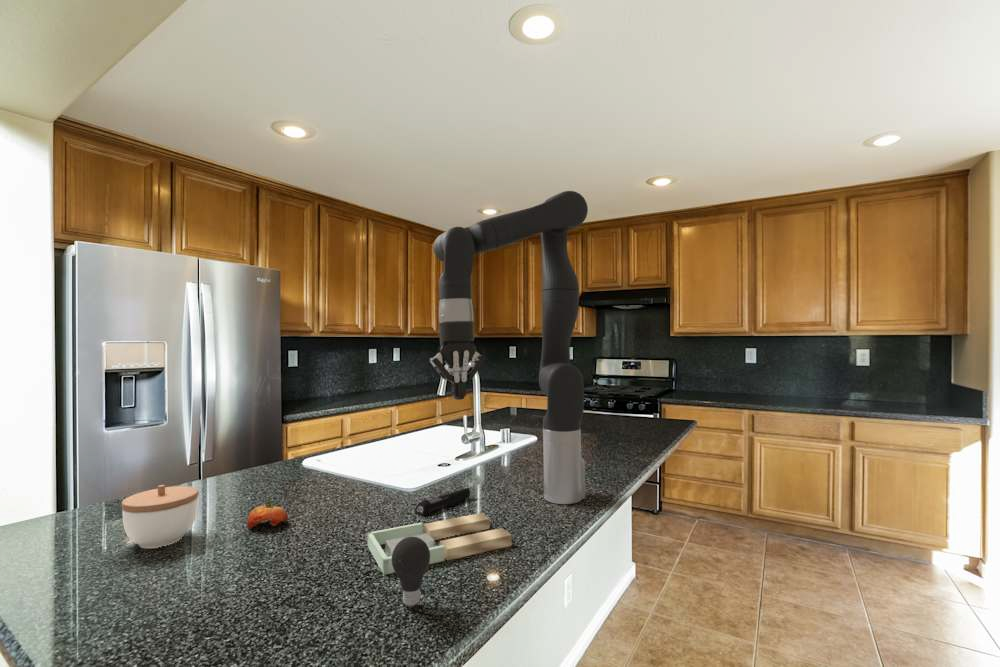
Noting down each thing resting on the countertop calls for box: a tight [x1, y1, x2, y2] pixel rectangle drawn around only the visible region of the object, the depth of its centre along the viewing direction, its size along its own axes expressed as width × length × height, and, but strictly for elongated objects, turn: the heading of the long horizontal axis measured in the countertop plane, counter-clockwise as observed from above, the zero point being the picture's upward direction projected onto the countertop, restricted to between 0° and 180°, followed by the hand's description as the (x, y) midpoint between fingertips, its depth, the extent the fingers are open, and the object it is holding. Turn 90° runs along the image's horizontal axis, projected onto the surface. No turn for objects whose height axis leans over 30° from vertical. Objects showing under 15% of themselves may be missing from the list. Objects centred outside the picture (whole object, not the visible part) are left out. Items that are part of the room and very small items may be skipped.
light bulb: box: [392, 537, 430, 608], centre depth 72 cm, size 6×6×10 cm
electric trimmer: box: [414, 487, 471, 517], centre depth 115 cm, size 4×16×3 cm, turn 137°
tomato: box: [246, 500, 289, 532], centre depth 104 cm, size 8×7×7 cm
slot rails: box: [422, 512, 513, 561], centre depth 95 cm, size 13×14×2 cm
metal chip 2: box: [411, 533, 436, 548], centre depth 90 cm, size 4×4×2 cm
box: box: [366, 522, 446, 576], centre depth 90 cm, size 11×13×2 cm
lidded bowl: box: [121, 484, 200, 550], centre depth 97 cm, size 13×13×11 cm
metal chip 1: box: [384, 537, 407, 557], centre depth 89 cm, size 4×4×2 cm
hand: (459, 399), depth 106 cm, fingers closed
